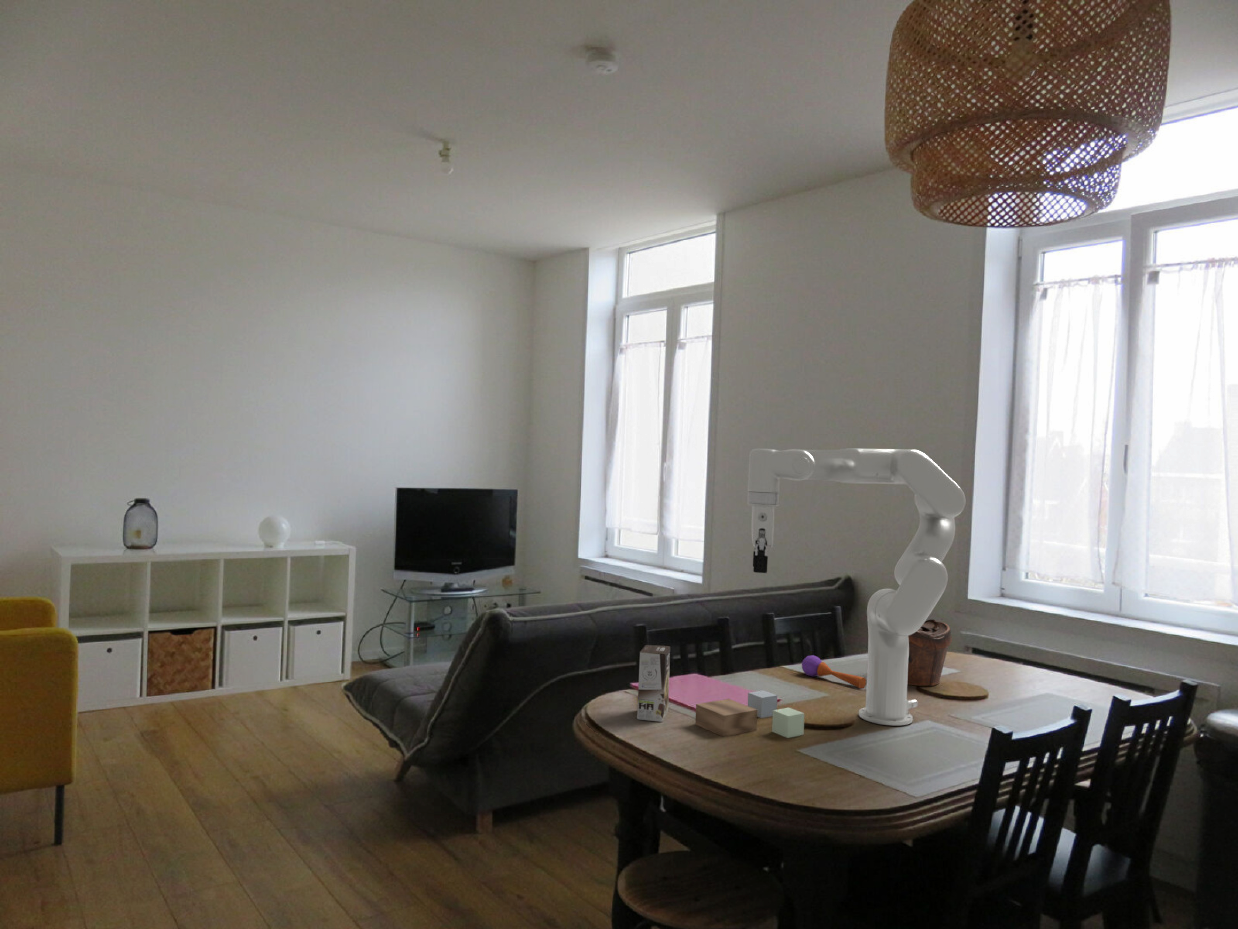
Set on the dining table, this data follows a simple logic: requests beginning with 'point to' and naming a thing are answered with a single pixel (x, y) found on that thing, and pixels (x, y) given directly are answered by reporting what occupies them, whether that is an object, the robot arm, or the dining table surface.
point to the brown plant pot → (928, 653)
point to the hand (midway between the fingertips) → (759, 570)
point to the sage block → (788, 722)
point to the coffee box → (653, 683)
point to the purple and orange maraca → (829, 671)
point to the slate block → (762, 703)
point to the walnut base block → (726, 717)
